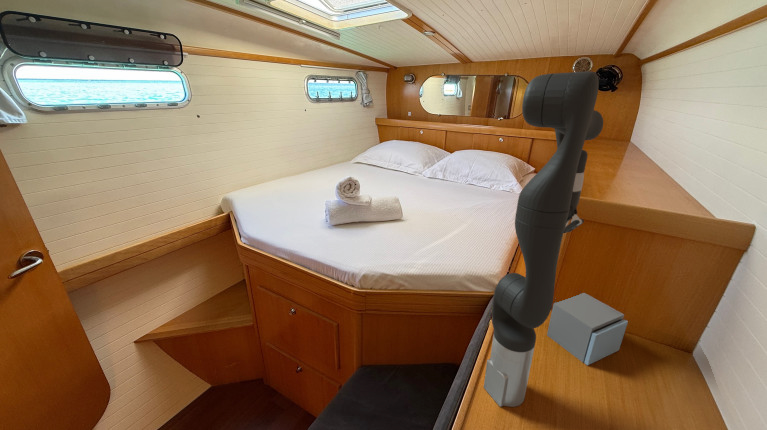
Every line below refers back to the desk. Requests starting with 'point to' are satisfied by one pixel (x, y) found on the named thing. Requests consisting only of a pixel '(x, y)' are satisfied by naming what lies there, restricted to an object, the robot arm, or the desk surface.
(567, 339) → the cabinet
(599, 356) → the drawer
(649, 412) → the desk surface
